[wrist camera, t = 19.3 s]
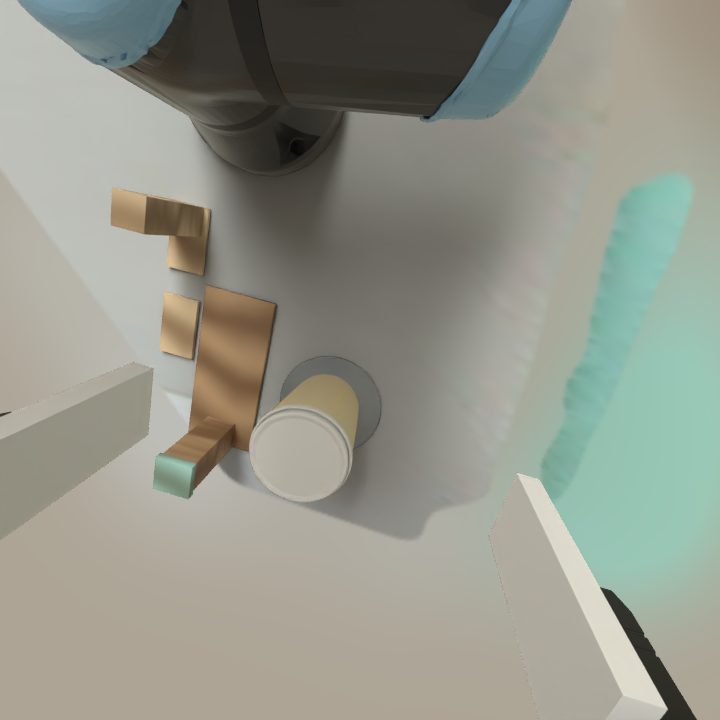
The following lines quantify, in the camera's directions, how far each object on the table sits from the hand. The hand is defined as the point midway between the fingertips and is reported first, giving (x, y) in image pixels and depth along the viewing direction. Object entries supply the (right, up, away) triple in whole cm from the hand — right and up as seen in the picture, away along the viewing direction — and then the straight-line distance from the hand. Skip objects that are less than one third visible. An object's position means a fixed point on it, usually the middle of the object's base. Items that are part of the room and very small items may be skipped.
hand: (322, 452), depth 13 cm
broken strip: (-19, +11, +29) cm, 36 cm away
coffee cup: (-3, -2, +31) cm, 31 cm away
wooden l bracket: (-14, +2, +31) cm, 35 cm away
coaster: (-2, -2, +31) cm, 31 cm away
